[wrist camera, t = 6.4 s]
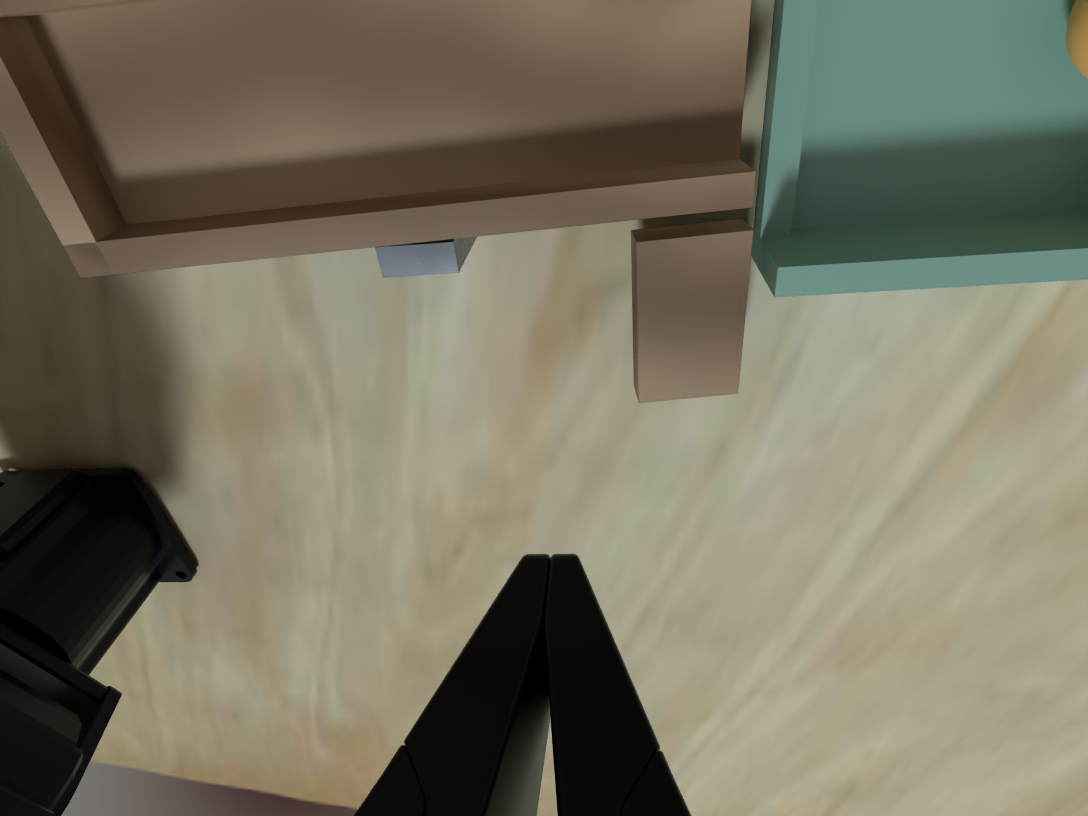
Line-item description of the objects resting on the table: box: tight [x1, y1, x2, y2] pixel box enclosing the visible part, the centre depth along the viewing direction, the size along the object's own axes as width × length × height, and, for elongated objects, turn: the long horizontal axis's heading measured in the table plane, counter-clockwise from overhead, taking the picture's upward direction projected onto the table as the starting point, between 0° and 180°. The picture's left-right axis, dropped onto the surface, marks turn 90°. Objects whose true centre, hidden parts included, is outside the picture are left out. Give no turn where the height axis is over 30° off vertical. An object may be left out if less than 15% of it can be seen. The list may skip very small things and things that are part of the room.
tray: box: [751, 0, 1088, 297], centre depth 13 cm, size 11×10×3 cm
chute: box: [0, 0, 756, 403], centre depth 15 cm, size 12×16×2 cm
